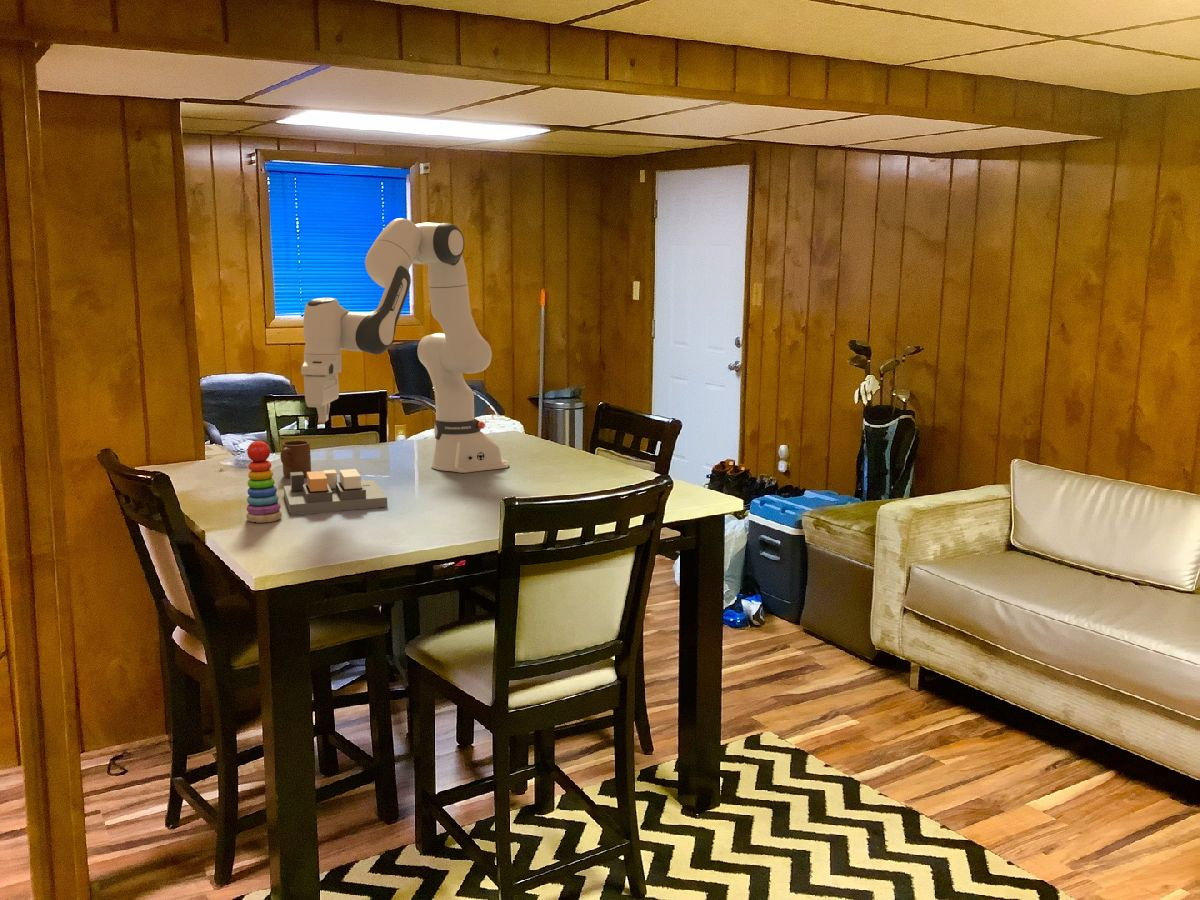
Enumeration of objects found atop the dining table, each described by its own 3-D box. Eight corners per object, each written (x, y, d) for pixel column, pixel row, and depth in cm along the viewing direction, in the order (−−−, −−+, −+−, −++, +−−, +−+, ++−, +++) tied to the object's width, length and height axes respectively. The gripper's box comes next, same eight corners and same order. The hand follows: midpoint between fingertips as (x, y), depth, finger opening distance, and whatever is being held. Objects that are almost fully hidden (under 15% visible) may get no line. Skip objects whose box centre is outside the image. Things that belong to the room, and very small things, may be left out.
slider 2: (335, 484, 261) (335, 469, 261) (337, 488, 258) (336, 472, 257) (323, 485, 260) (323, 470, 260) (325, 488, 257) (324, 473, 256)
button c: (323, 482, 254) (323, 470, 253) (327, 490, 246) (327, 478, 245) (307, 483, 252) (306, 471, 252) (310, 491, 244) (309, 479, 244)
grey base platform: (374, 489, 269) (373, 471, 268) (387, 507, 250) (386, 488, 249) (284, 495, 261) (283, 477, 260) (290, 514, 242) (289, 495, 241)
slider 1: (303, 486, 259) (302, 471, 258) (304, 490, 255) (303, 474, 254) (290, 487, 257) (290, 472, 257) (292, 491, 254) (291, 475, 253)
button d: (356, 480, 257) (355, 468, 256) (361, 488, 248) (360, 476, 248) (339, 481, 255) (339, 469, 255) (344, 489, 247) (343, 477, 246)
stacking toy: (274, 513, 243) (270, 436, 239) (287, 520, 237) (283, 441, 233) (241, 518, 238) (237, 440, 235) (253, 525, 232) (249, 445, 228)
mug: (296, 482, 276) (294, 448, 274) (270, 481, 277) (268, 447, 275) (316, 473, 287) (314, 441, 286) (291, 472, 289) (289, 440, 287)
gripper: (319, 361, 257) (320, 415, 259) (299, 368, 236) (300, 426, 239) (344, 362, 257) (345, 416, 259) (326, 369, 237) (327, 427, 239)
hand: (323, 421), depth 249 cm, fingers closed
